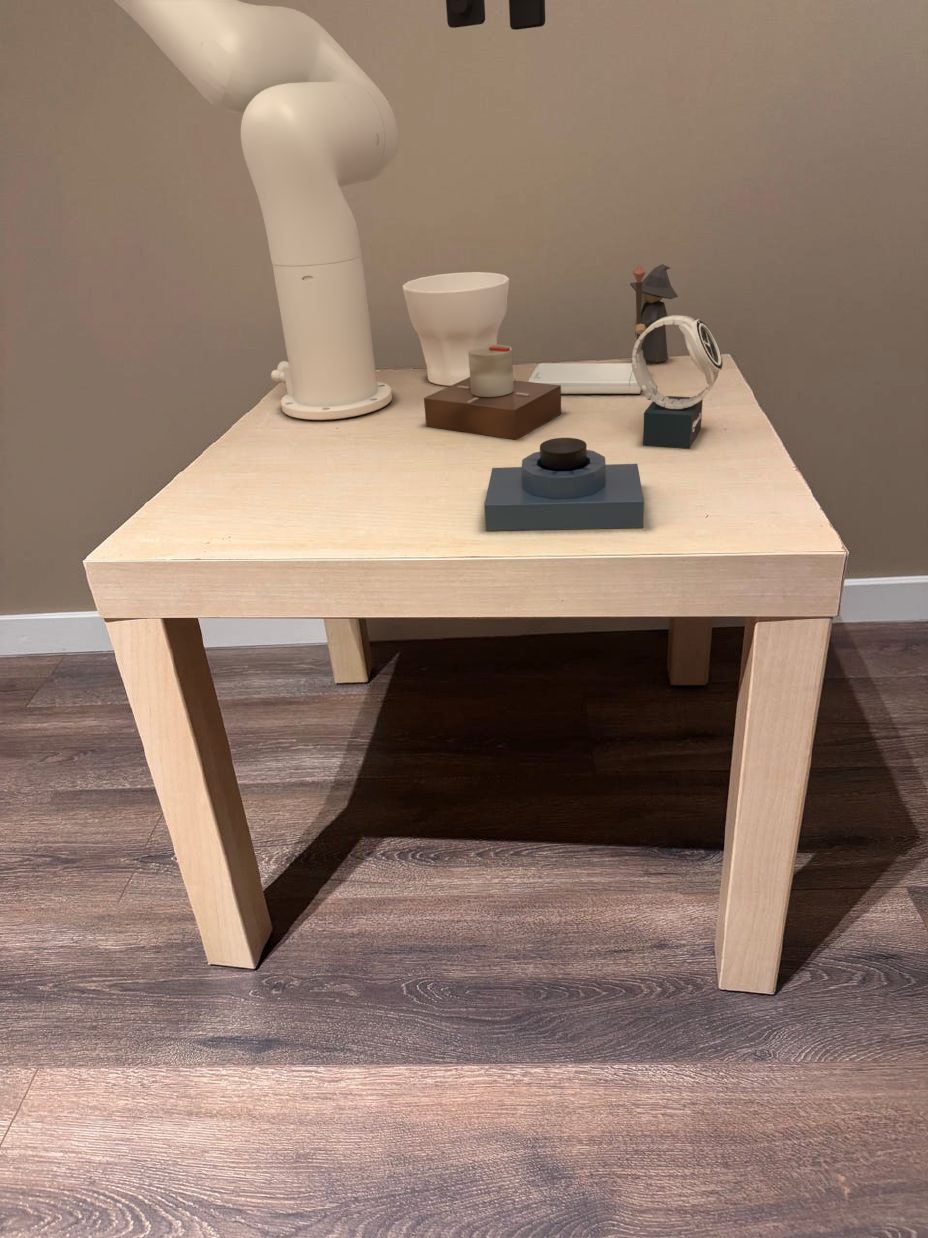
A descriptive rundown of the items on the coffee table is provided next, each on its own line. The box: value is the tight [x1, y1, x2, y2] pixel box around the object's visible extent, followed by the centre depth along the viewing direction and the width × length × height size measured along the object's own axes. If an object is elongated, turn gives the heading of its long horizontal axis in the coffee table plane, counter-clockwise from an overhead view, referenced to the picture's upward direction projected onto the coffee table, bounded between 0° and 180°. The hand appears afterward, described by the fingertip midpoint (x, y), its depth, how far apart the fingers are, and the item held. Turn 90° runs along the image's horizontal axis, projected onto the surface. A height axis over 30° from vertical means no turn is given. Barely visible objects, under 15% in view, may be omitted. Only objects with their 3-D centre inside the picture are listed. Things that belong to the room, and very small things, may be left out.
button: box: [539, 437, 588, 472], centre depth 70 cm, size 4×4×2 cm
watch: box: [630, 314, 724, 450], centre depth 83 cm, size 6×8×11 cm
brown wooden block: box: [423, 377, 562, 440], centre depth 93 cm, size 11×9×3 cm
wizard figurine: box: [630, 263, 679, 365], centre depth 106 cm, size 8×6×12 cm
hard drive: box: [527, 362, 642, 395], centre depth 103 cm, size 2×8×12 cm
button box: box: [483, 449, 645, 532], centre depth 72 cm, size 12×8×4 cm, turn 84°
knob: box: [468, 343, 514, 397], centre depth 91 cm, size 4×4×4 cm
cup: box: [401, 271, 510, 387], centre depth 107 cm, size 12×12×11 cm
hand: (498, 26), depth 74 cm, fingers open, 9 cm apart
